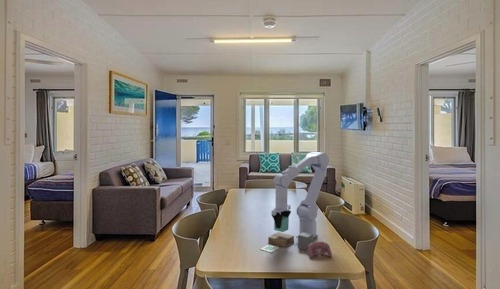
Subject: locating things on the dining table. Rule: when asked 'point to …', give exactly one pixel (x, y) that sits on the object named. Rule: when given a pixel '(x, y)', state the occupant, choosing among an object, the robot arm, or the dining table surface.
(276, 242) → the walnut base
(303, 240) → the charcoal block
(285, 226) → the teal block
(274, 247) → the card
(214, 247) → the dining table surface
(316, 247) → the pink arch
